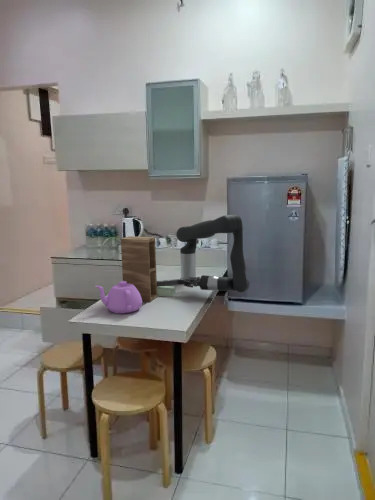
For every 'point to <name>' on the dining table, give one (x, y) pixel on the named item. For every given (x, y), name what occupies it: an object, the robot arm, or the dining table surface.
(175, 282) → the domino bar
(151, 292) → the shelf tower
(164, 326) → the dining table surface
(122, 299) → the teapot
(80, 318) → the dining table surface
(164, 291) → the green block
